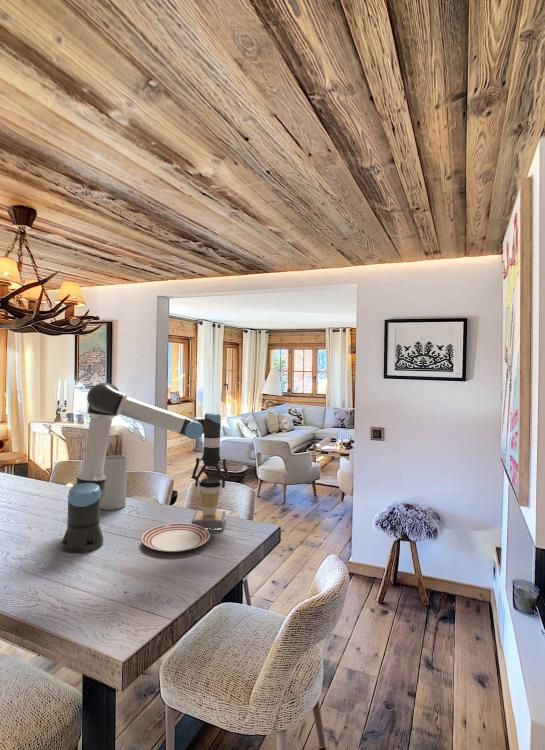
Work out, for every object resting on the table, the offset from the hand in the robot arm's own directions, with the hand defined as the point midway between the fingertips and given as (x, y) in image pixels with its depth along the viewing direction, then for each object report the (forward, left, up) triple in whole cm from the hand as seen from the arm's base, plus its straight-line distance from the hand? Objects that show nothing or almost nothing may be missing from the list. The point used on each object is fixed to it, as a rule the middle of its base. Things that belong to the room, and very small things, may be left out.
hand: (209, 494), depth 192 cm
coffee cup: (0, 0, -9) cm, 9 cm away
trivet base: (0, 0, -14) cm, 14 cm away
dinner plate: (-21, +11, -15) cm, 28 cm away
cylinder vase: (+22, +52, -14) cm, 58 cm away
